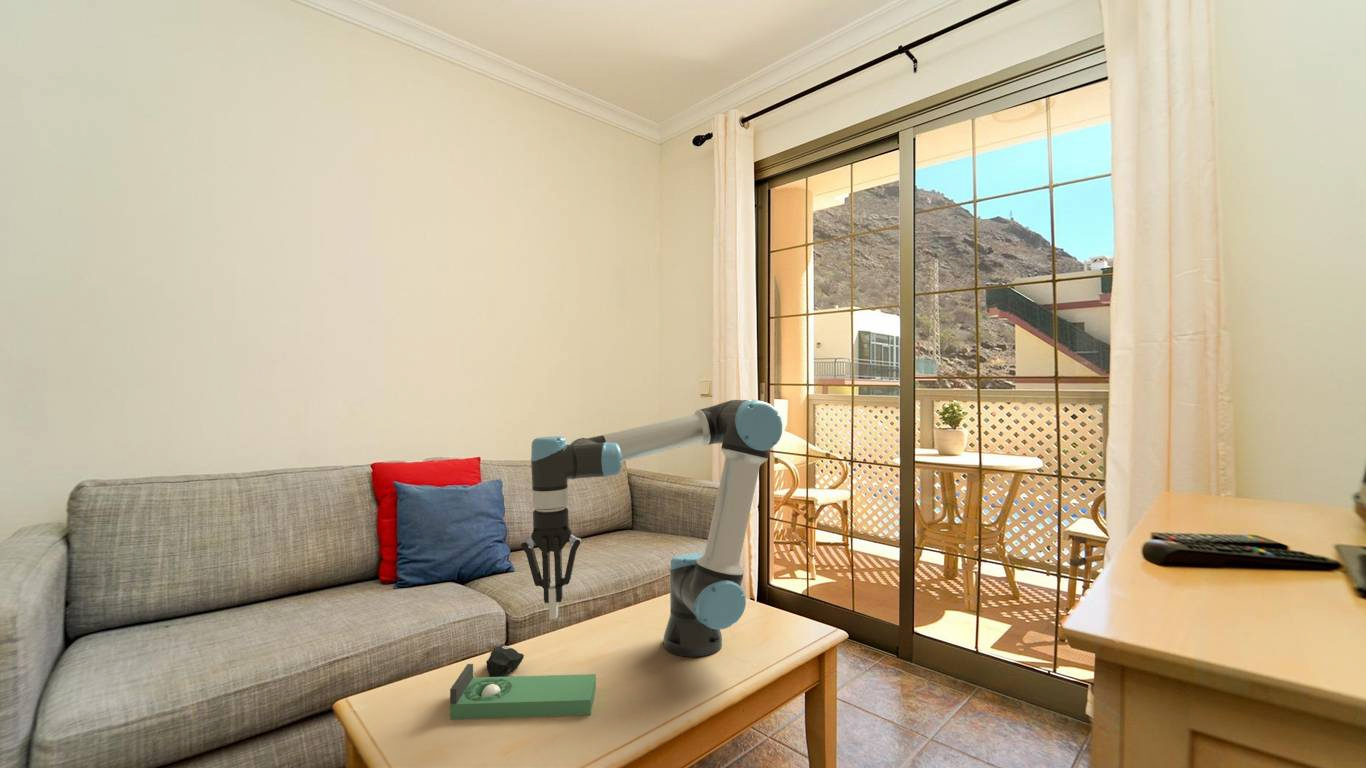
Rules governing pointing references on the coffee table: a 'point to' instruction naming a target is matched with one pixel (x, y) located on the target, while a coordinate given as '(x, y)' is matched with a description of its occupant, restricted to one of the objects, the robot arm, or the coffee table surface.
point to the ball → (490, 690)
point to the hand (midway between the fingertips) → (553, 616)
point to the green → (522, 696)
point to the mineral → (503, 661)
